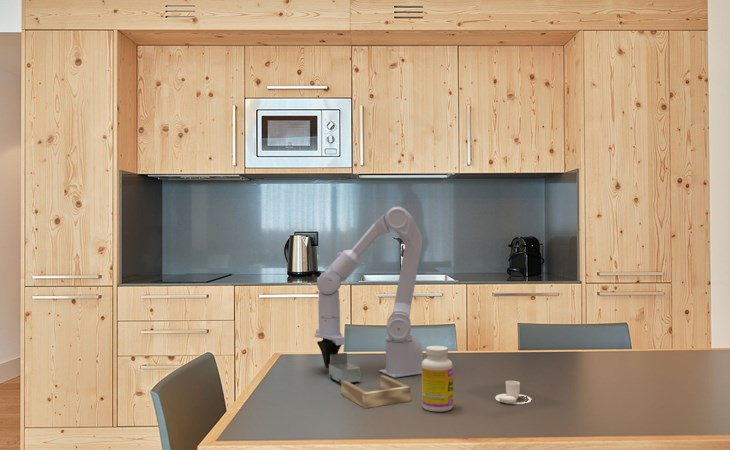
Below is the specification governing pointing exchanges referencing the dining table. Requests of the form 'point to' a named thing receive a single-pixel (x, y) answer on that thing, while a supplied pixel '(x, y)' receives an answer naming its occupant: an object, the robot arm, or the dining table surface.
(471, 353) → the dining table surface
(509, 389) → the teacup and saucer
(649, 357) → the dining table surface
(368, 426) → the dining table surface
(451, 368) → the supplement bottle
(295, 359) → the dining table surface
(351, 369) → the grey stepped block
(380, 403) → the dock bay
